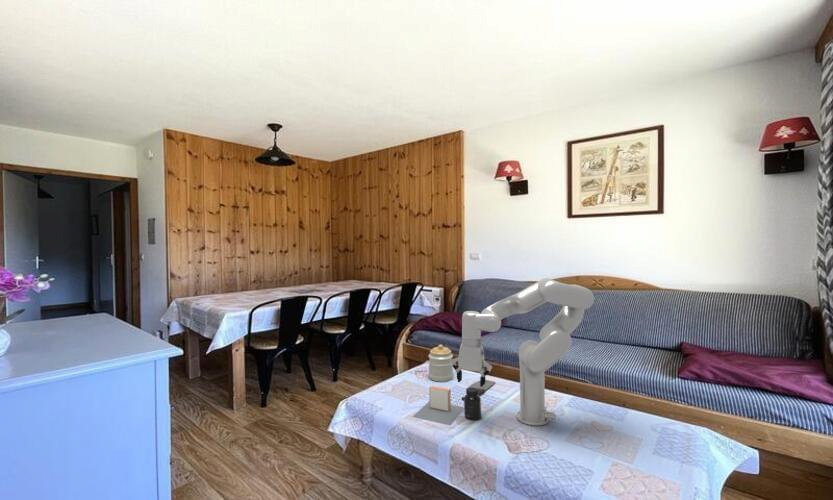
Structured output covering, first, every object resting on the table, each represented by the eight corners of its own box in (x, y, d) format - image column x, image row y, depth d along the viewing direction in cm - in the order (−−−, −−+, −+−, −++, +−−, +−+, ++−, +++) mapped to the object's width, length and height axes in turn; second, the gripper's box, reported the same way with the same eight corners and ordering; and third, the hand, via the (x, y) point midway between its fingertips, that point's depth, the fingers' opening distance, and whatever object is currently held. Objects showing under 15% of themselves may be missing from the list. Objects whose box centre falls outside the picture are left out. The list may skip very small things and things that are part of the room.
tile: (450, 409, 162) (450, 389, 162) (448, 411, 160) (448, 390, 160) (431, 405, 166) (431, 385, 166) (429, 407, 164) (429, 387, 164)
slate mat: (465, 409, 164) (465, 407, 164) (450, 426, 149) (450, 425, 149) (429, 401, 172) (429, 400, 172) (412, 418, 157) (412, 416, 157)
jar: (453, 373, 207) (453, 341, 206) (452, 382, 194) (452, 348, 193) (430, 372, 209) (429, 341, 208) (427, 381, 196) (427, 347, 195)
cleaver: (471, 404, 169) (471, 400, 169) (452, 399, 174) (452, 395, 174) (496, 383, 193) (496, 379, 193) (479, 380, 199) (479, 376, 199)
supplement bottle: (469, 412, 160) (469, 384, 160) (484, 417, 156) (483, 388, 156) (461, 419, 155) (460, 390, 155) (475, 424, 151) (475, 394, 150)
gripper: (494, 342, 154) (494, 384, 154) (454, 337, 162) (454, 376, 162) (489, 347, 147) (488, 390, 148) (448, 341, 155) (447, 382, 156)
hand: (470, 383), depth 155 cm, fingers open, 9 cm apart
